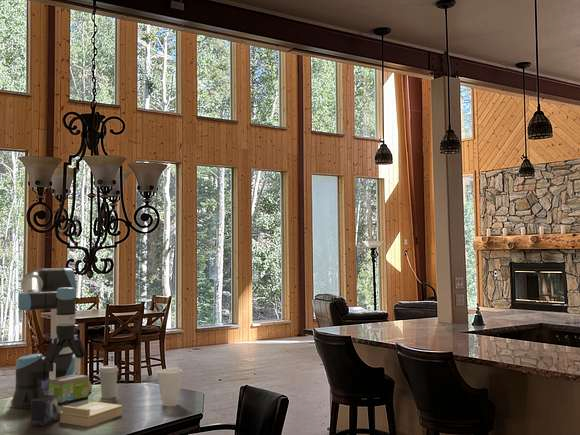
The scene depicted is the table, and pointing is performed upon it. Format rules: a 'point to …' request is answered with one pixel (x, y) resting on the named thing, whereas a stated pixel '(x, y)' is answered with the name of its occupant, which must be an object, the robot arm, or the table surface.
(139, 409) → the table surface
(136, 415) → the table surface
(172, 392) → the cup
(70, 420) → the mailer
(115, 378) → the coffee cup
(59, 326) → the robot arm
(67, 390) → the tea box
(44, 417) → the small box
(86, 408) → the lid
